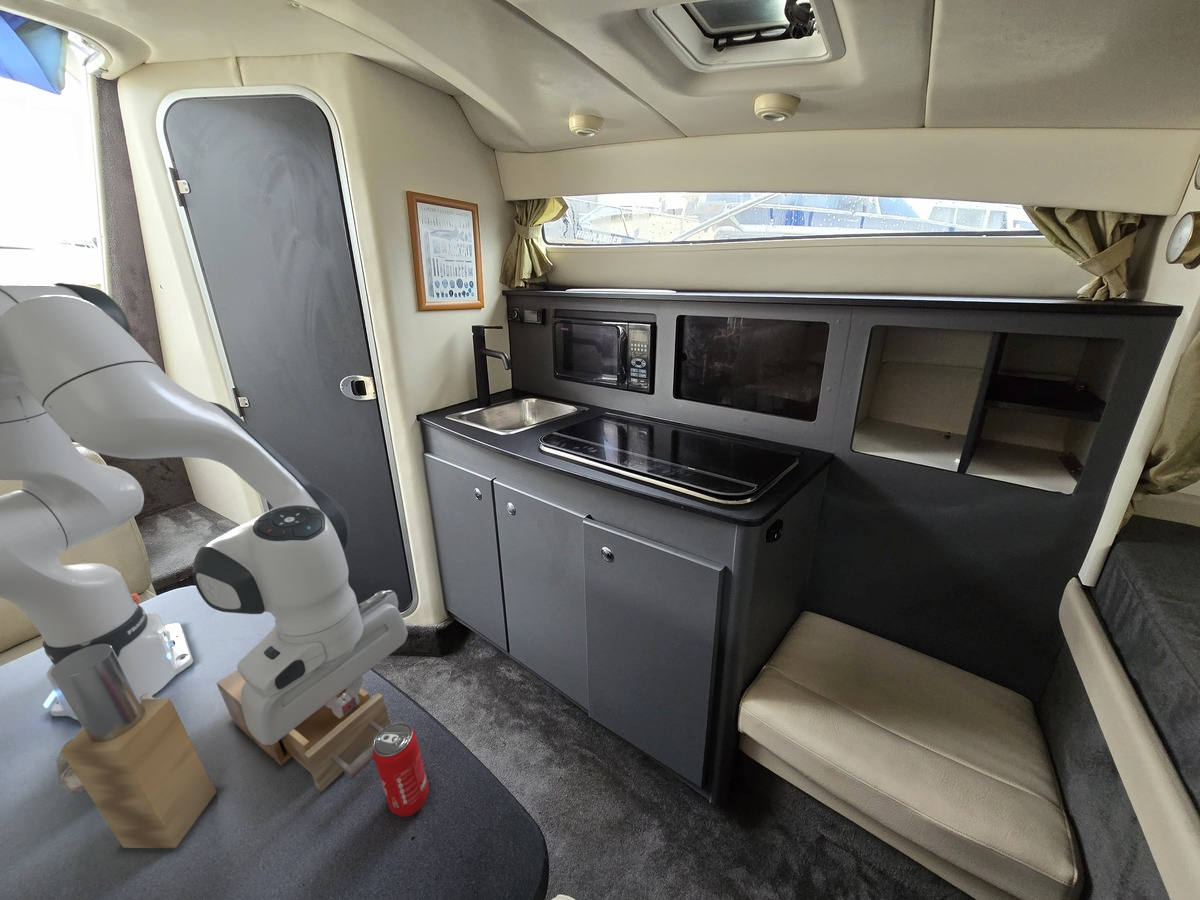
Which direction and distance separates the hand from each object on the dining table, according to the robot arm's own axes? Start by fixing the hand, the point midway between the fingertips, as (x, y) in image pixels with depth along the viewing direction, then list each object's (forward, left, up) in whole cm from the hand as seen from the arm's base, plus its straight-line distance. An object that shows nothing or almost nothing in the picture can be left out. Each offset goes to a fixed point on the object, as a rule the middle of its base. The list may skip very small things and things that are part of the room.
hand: (347, 708), depth 67 cm
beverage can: (+8, +4, -12) cm, 15 cm away
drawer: (-6, -2, -11) cm, 13 cm away
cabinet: (-17, -7, -12) cm, 22 cm away
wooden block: (-8, -23, -12) cm, 27 cm away
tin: (-8, -23, +6) cm, 25 cm away
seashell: (-22, -29, -13) cm, 38 cm away
